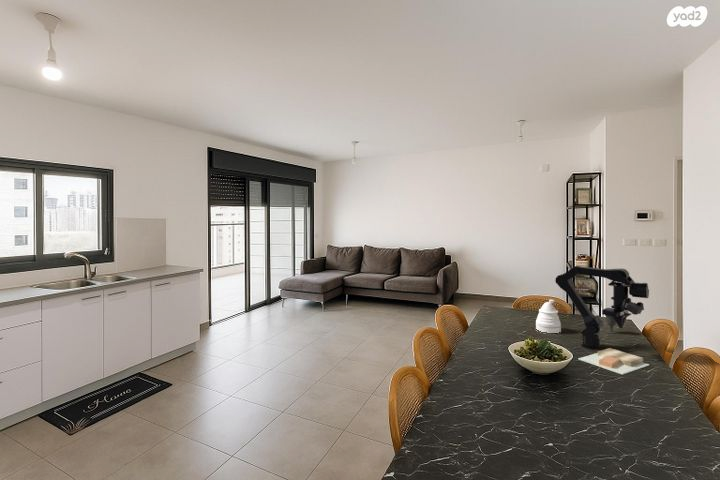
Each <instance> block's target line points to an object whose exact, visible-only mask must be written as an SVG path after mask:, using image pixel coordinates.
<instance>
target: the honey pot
mask: <svg viewBox="0 0 720 480" xmlns="http://www.w3.org/2000/svg"><path fill="white" fill-rule="evenodd" d="M554 302H555V300H554V299H549V300H548V301H546V302H544V303H543V304H542V306H541V307H540V308H539V309H538V314H537V317H536V320H535V330H536V329H537V330H539V331H541V332H547V333H558V334H560V333H561V332H562V322H561V321H560V318H559V315H558V313H559V310H557V309H556V308H555V307H554V305H553V304H554ZM537 330H536V331H537ZM541 332H540V333H541ZM559 332H560V333H559Z"/></svg>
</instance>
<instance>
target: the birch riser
mask: <svg viewBox="0 0 720 480" xmlns="http://www.w3.org/2000/svg"><path fill="white" fill-rule="evenodd" d="M597 353H598V356H599V357H602V358H604V357H606V356H610V357H614V358H618V359H620V363H621V364H624V365H627V366H630V367H631V366H634V365H637V364H640V363H644V358H643V357H642V356H641V357H640V356H638V355H635V354H631V353H627V352H625V351H621V350H618V349H615V348H614V349H613V348H612V347H609V348H606V349H602V350H598V351H597Z"/></svg>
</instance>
